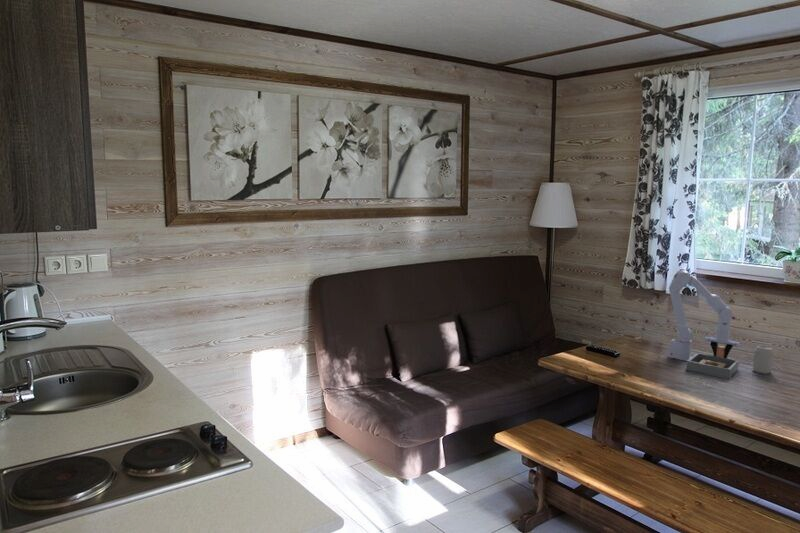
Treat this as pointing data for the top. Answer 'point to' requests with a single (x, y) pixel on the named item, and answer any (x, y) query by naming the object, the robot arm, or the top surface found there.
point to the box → (712, 365)
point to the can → (763, 359)
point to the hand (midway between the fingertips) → (720, 358)
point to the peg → (720, 351)
